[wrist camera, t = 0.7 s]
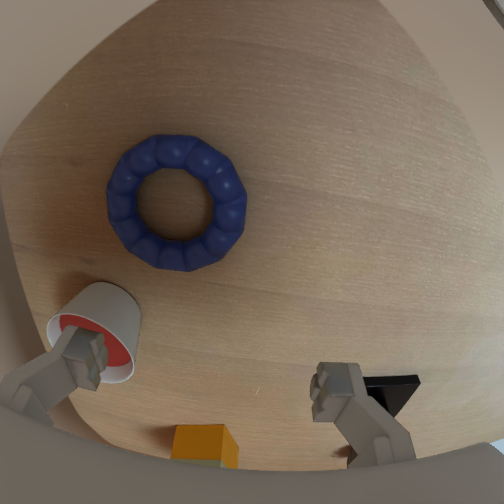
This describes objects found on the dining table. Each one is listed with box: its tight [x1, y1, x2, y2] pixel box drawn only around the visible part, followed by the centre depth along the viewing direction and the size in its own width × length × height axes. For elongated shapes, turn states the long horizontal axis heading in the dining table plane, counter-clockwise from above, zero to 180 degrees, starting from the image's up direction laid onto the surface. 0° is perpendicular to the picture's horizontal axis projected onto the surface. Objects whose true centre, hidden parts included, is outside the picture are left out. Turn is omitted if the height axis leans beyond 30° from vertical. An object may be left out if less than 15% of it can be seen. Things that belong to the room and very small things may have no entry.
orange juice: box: [170, 425, 239, 469], centre depth 34 cm, size 8×9×20 cm
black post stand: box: [363, 375, 421, 418], centre depth 31 cm, size 9×9×12 cm
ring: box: [106, 135, 247, 272], centre depth 23 cm, size 11×11×2 cm
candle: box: [47, 282, 141, 383], centre depth 27 cm, size 9×9×6 cm
